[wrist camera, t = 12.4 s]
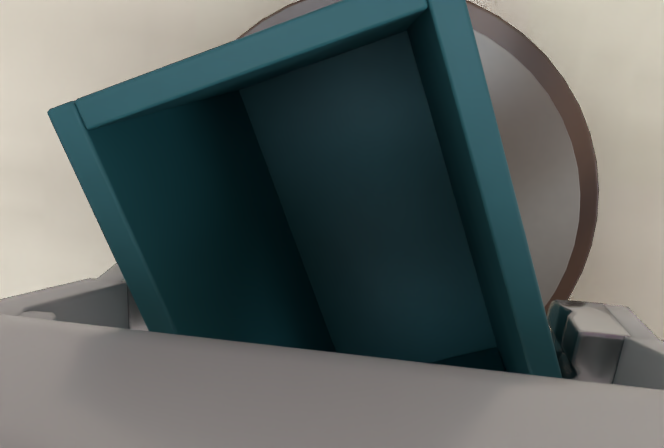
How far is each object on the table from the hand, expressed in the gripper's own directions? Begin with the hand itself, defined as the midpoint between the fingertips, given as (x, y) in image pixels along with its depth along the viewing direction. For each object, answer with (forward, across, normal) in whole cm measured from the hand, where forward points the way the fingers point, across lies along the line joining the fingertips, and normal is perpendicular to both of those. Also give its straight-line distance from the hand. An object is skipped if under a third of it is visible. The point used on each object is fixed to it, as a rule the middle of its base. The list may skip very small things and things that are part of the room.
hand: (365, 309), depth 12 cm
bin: (+7, 0, 0) cm, 7 cm away
